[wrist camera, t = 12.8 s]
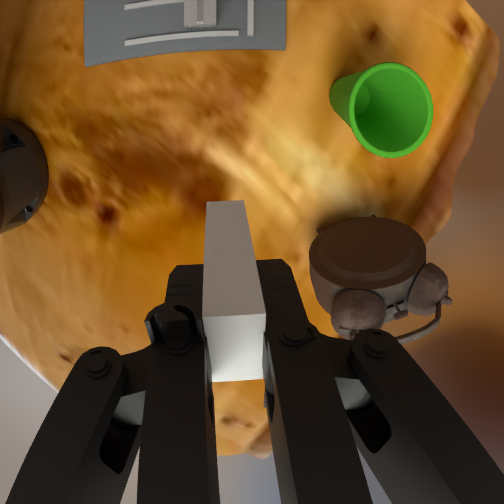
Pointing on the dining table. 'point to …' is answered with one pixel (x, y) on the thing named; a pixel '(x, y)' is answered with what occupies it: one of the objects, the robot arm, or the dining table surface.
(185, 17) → the slider knob
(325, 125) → the dining table surface
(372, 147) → the cup
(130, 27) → the panel
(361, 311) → the alarm clock
